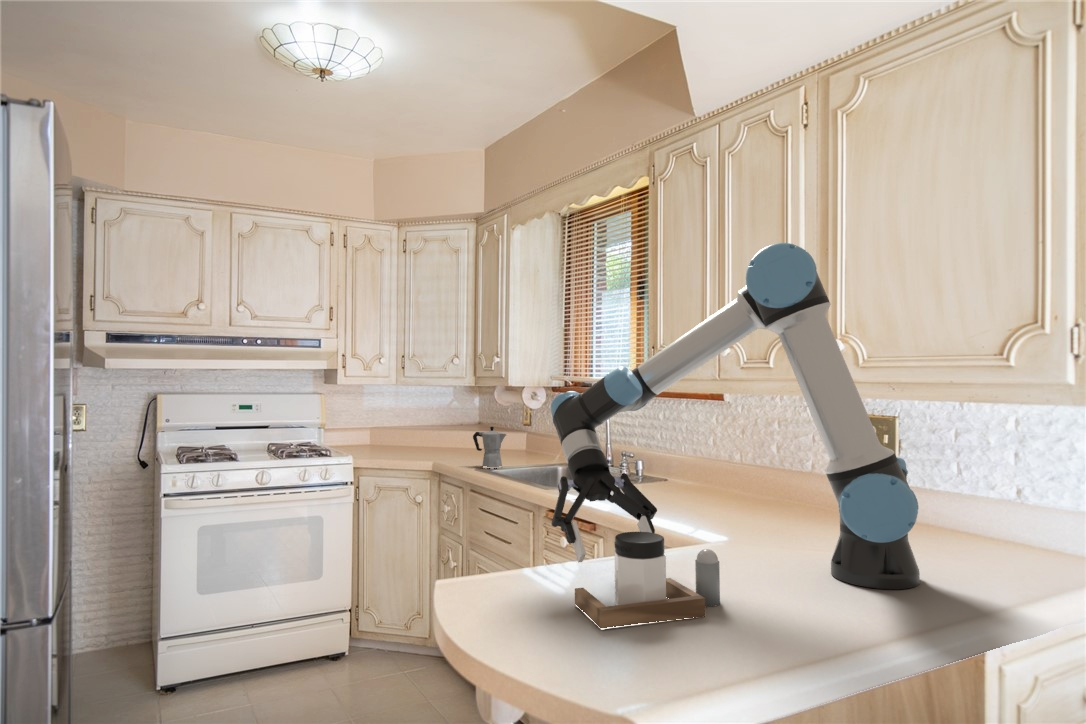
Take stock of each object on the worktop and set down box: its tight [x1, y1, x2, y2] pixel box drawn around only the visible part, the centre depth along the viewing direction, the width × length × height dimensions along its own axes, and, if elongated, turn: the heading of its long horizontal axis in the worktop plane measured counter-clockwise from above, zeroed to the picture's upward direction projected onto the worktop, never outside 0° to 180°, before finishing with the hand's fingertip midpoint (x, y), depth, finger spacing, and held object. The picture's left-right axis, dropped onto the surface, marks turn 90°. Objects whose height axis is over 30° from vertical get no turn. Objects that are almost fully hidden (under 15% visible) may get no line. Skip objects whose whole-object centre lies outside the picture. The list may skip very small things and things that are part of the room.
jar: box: [614, 531, 667, 605], centre depth 111 cm, size 9×8×12 cm
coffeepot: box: [472, 426, 507, 467], centre depth 292 cm, size 15×9×18 cm, turn 75°
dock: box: [574, 577, 706, 628], centre depth 110 cm, size 12×18×3 cm, turn 108°
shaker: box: [694, 548, 721, 607], centre depth 114 cm, size 4×4×9 cm
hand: (618, 554), depth 117 cm, fingers open, 13 cm apart
